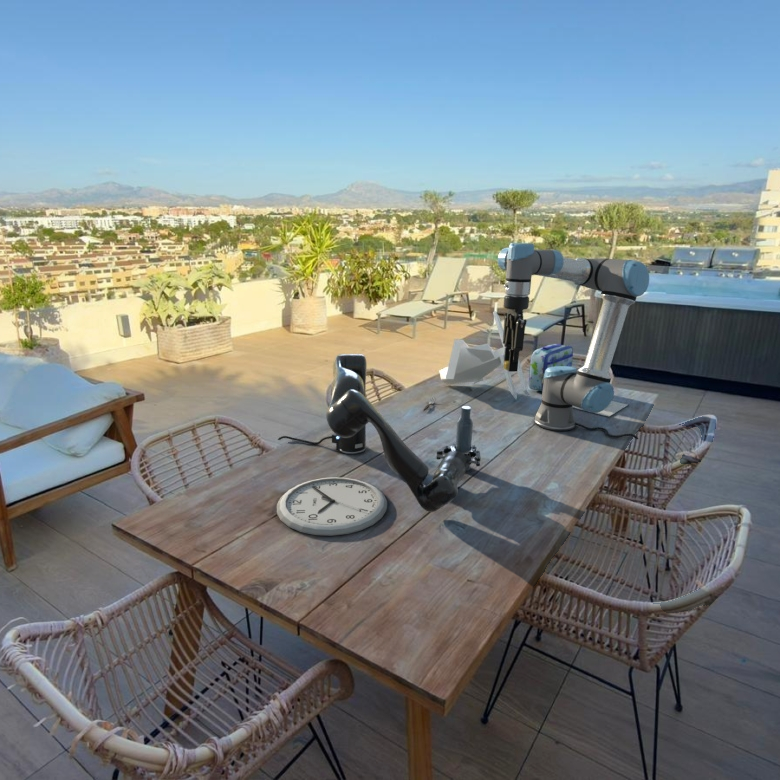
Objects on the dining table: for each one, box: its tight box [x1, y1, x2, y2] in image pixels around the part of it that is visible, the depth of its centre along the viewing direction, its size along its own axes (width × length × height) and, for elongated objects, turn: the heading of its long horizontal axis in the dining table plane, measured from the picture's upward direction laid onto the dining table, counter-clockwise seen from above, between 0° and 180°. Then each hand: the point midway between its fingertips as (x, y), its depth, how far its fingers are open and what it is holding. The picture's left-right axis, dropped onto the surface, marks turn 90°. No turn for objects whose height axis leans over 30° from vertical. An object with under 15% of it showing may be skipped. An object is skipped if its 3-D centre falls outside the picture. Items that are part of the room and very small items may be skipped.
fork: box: [422, 395, 437, 412], centre depth 223 cm, size 3×16×2 cm, turn 160°
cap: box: [504, 361, 509, 370], centre depth 166 cm, size 4×4×2 cm
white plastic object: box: [438, 310, 531, 400], centre depth 245 cm, size 37×45×31 cm
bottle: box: [455, 405, 474, 472], centre depth 163 cm, size 5×5×20 cm
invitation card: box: [573, 400, 629, 418], centre depth 226 cm, size 21×1×15 cm
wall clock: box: [276, 476, 388, 537], centre depth 142 cm, size 30×2×30 cm
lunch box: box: [528, 343, 574, 392], centre depth 248 cm, size 26×11×21 cm, turn 134°
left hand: (465, 446), depth 167 cm, fingers closed on bottle, 4 cm apart
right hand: (510, 369), depth 167 cm, fingers closed on cap, 4 cm apart
